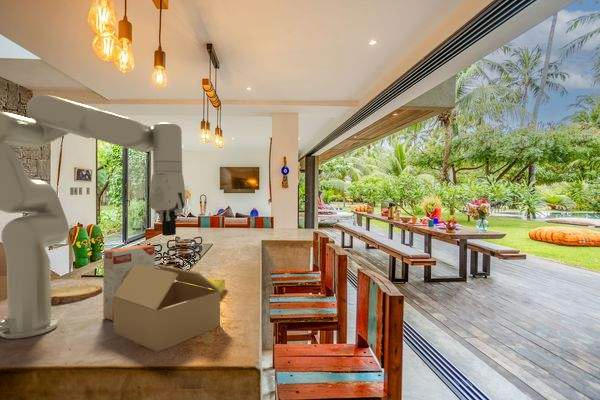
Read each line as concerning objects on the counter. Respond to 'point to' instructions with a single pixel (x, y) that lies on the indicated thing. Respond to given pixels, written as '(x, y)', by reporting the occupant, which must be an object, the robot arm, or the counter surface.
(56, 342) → the counter surface
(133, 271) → the flap arm side
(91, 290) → the slice of bread
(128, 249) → the cracker box
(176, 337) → the carton
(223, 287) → the element tile
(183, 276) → the flap far
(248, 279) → the counter surface
